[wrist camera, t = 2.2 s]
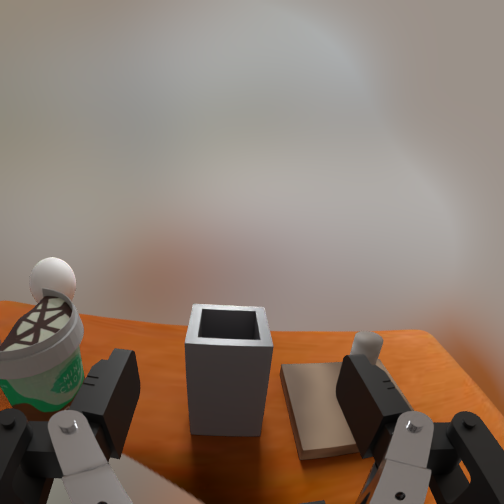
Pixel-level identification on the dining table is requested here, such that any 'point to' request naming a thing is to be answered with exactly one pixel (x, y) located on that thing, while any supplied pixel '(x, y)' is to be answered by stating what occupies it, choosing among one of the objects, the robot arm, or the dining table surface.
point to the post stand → (324, 402)
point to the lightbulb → (52, 278)
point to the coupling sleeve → (227, 369)
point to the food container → (43, 358)
